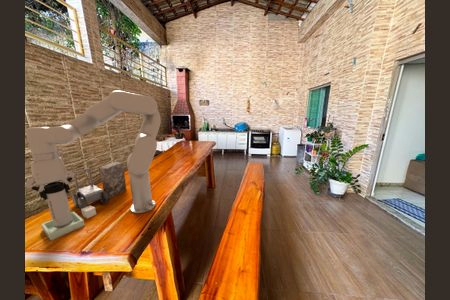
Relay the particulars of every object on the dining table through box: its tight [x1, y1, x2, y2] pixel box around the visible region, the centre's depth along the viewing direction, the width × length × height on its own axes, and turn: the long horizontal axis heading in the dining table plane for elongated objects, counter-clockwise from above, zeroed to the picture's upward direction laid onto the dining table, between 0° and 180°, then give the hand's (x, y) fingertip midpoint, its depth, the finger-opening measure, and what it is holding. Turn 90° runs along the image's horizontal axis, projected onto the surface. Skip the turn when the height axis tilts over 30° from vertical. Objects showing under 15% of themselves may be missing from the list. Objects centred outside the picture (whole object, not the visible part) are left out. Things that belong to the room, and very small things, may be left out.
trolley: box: [71, 168, 110, 211], centre depth 96 cm, size 17×12×20 cm
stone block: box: [98, 161, 127, 199], centre depth 109 cm, size 13×7×20 cm, turn 171°
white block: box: [80, 205, 97, 219], centre depth 88 cm, size 5×4×4 cm
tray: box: [40, 211, 86, 242], centre depth 78 cm, size 13×12×3 cm
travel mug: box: [43, 181, 73, 228], centre depth 76 cm, size 6×7×20 cm
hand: (56, 195), depth 75 cm, fingers open, 6 cm apart
